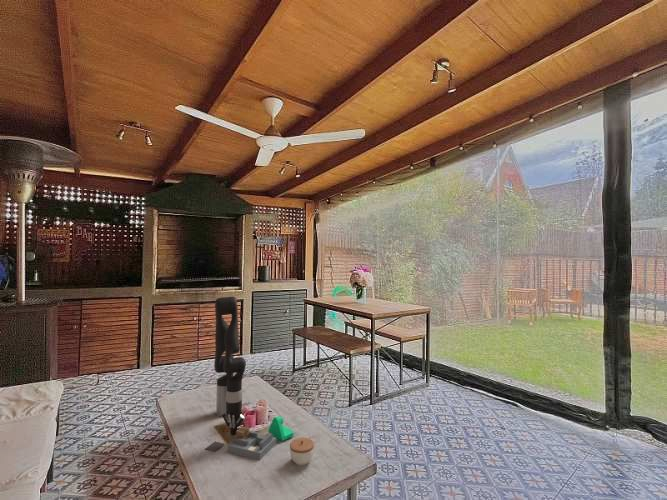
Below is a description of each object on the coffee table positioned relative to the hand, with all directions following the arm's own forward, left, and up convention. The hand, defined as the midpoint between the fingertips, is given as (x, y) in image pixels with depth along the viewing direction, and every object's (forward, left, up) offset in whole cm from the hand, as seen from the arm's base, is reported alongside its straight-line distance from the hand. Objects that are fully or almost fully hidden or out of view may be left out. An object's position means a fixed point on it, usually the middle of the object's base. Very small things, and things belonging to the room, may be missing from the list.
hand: (233, 434), depth 162 cm
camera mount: (-15, +18, -5) cm, 24 cm away
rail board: (0, +11, -4) cm, 12 cm away
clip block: (0, +5, +1) cm, 5 cm away
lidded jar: (+1, +38, -4) cm, 38 cm away
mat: (+6, -6, -4) cm, 9 cm away
